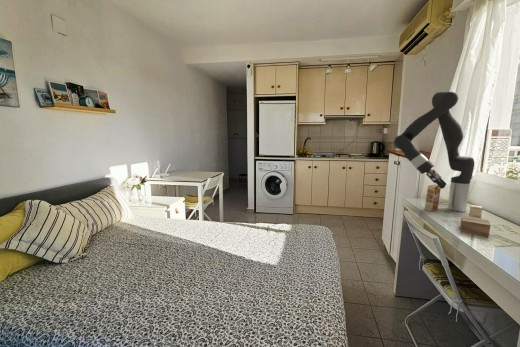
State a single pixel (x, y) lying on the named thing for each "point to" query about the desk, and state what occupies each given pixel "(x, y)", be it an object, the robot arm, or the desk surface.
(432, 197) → the candy box
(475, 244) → the desk surface
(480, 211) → the birch block
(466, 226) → the block
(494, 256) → the desk surface
